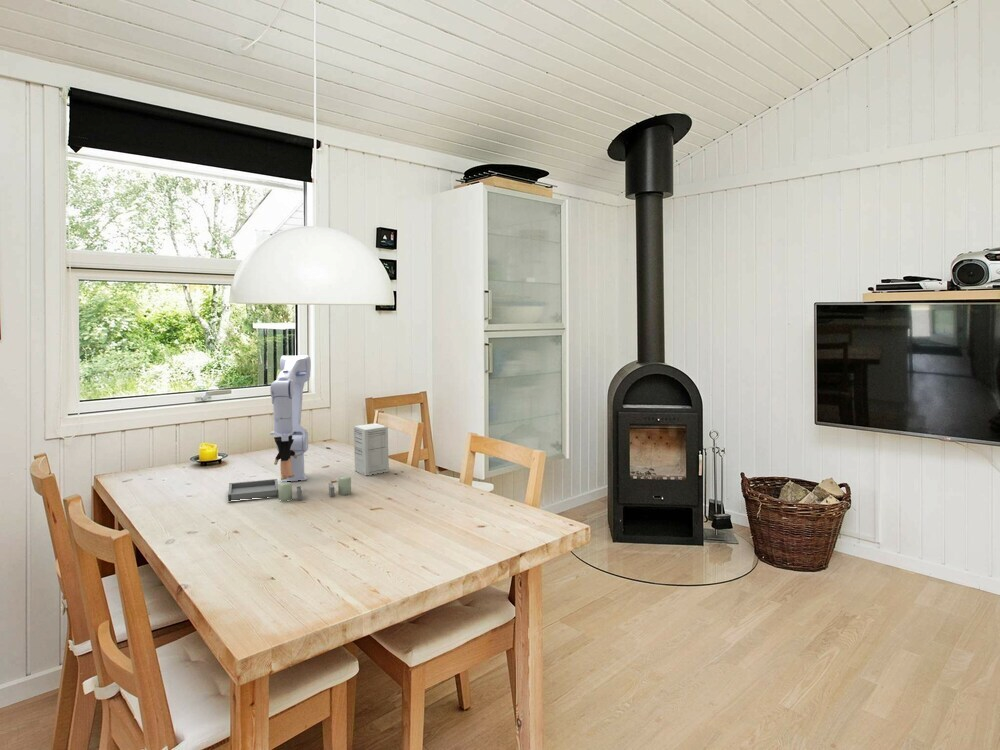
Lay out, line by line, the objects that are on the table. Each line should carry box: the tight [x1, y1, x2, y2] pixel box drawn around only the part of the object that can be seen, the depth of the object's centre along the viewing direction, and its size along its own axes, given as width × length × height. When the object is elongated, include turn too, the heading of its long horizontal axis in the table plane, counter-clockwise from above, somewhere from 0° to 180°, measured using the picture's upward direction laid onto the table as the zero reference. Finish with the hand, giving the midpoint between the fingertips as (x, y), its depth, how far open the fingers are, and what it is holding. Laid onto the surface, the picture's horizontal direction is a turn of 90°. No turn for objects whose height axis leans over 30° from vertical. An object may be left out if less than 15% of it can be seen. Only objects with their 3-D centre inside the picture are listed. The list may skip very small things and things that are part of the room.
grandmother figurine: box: [273, 450, 297, 481], centre depth 199 cm, size 8×4×13 cm, turn 146°
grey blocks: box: [296, 482, 336, 501], centre depth 194 cm, size 5×11×3 cm, turn 112°
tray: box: [227, 478, 279, 502], centre depth 196 cm, size 14×15×2 cm
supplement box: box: [353, 422, 390, 476], centre depth 224 cm, size 10×9×17 cm
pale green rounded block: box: [278, 481, 293, 502], centre depth 190 cm, size 4×4×5 cm
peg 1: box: [337, 476, 352, 496], centre depth 197 cm, size 4×4×5 cm
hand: (284, 459), depth 199 cm, fingers closed on grandmother figurine, 3 cm apart
